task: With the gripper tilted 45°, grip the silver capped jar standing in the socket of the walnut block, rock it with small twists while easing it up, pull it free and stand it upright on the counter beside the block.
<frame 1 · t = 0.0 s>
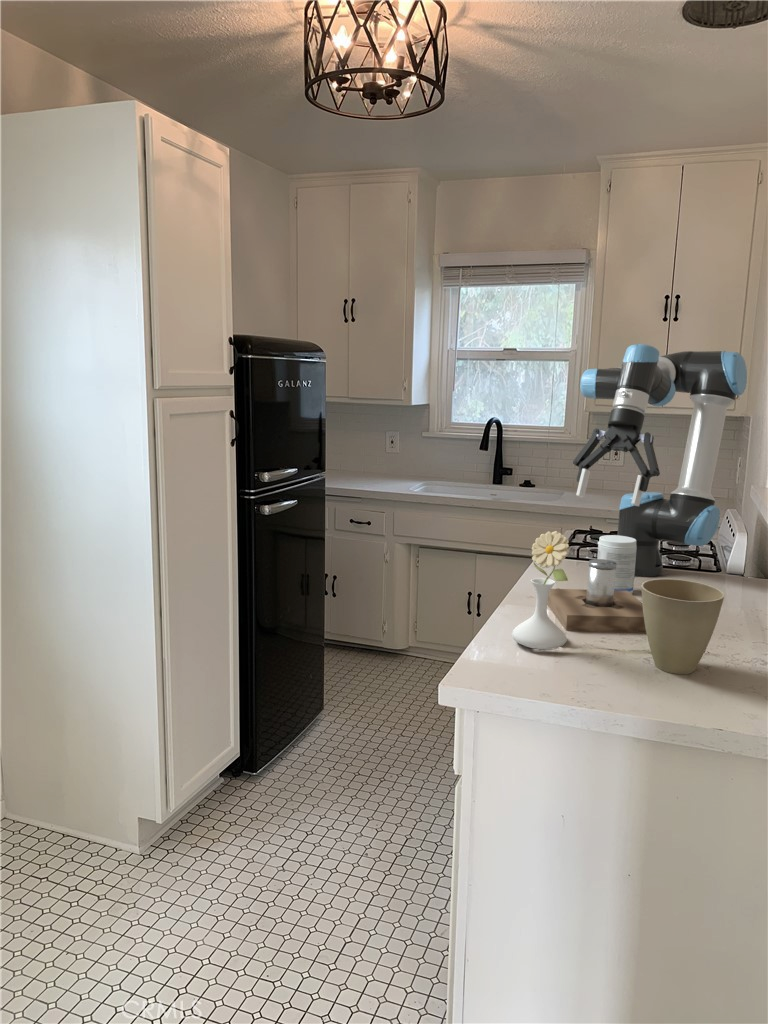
hand: (606, 500, 169), 28 cm above the counter, tool tilted 20°, fingers open, 13 cm apart
supplement tub: (613, 593, 194), on the counter
plant pot: (673, 668, 145), on the counter
walnut socket block: (597, 620, 172), on the counter
silver capped jar: (598, 616, 171), point 1 cm above the counter, touching walnut socket block
flower in vase: (540, 646, 155), on the counter
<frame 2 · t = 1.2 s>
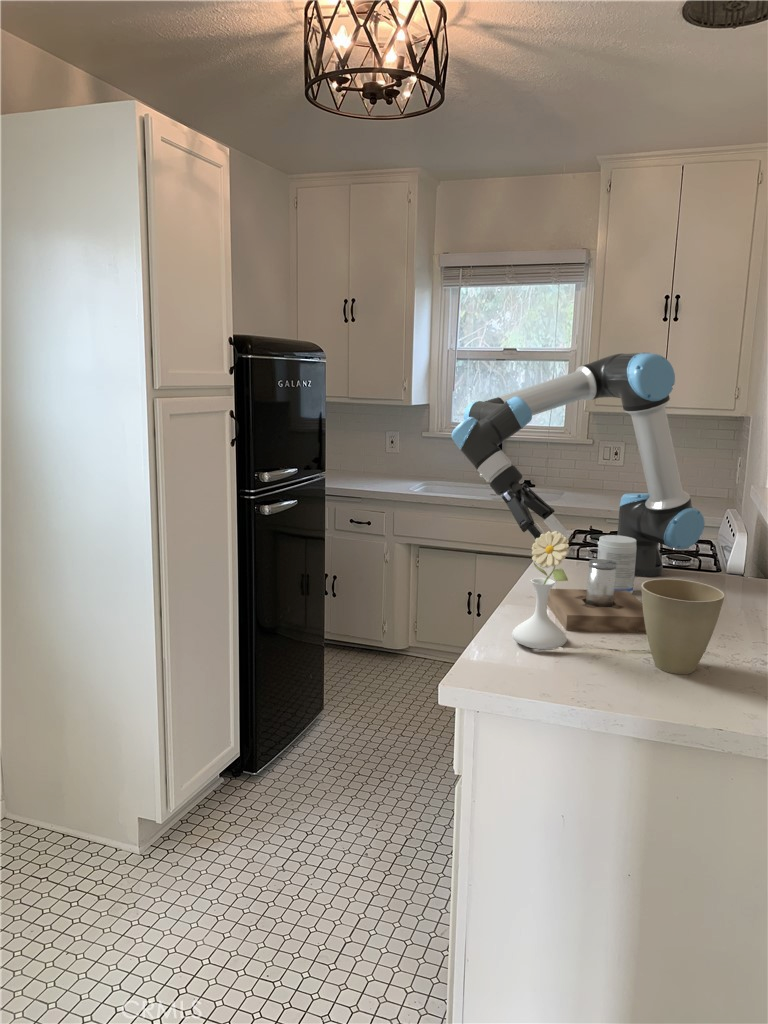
hand: (558, 543, 173), 17 cm above the counter, tool tilted 45°, fingers open, 13 cm apart
nothing on the counter moved.
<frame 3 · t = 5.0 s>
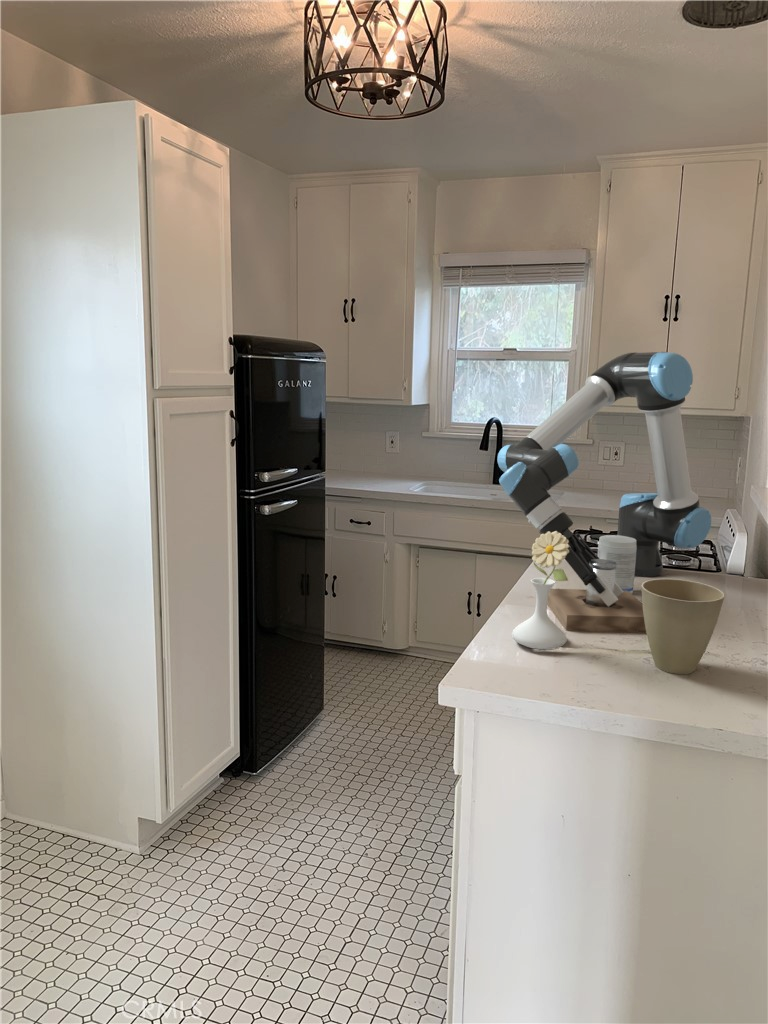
hand: (615, 598, 169), 6 cm above the counter, tool tilted 45°, fingers closed on silver capped jar, 6 cm apart
silver capped jar: (598, 616, 171), point 1 cm above the counter, touching gripper, walnut socket block
everything else where it was.
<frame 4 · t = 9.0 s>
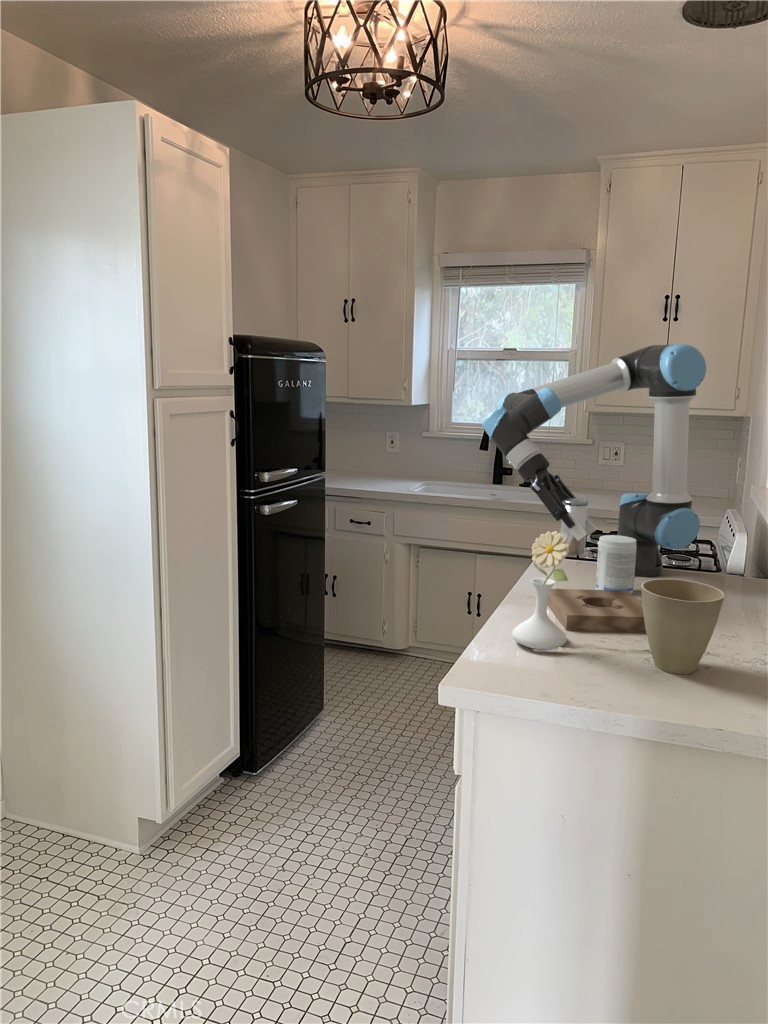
hand: (587, 534, 179), 18 cm above the counter, tool tilted 45°, fingers closed on silver capped jar, 6 cm apart
silver capped jar: (571, 552, 181), point 13 cm above the counter, touching gripper
everything else where it was.
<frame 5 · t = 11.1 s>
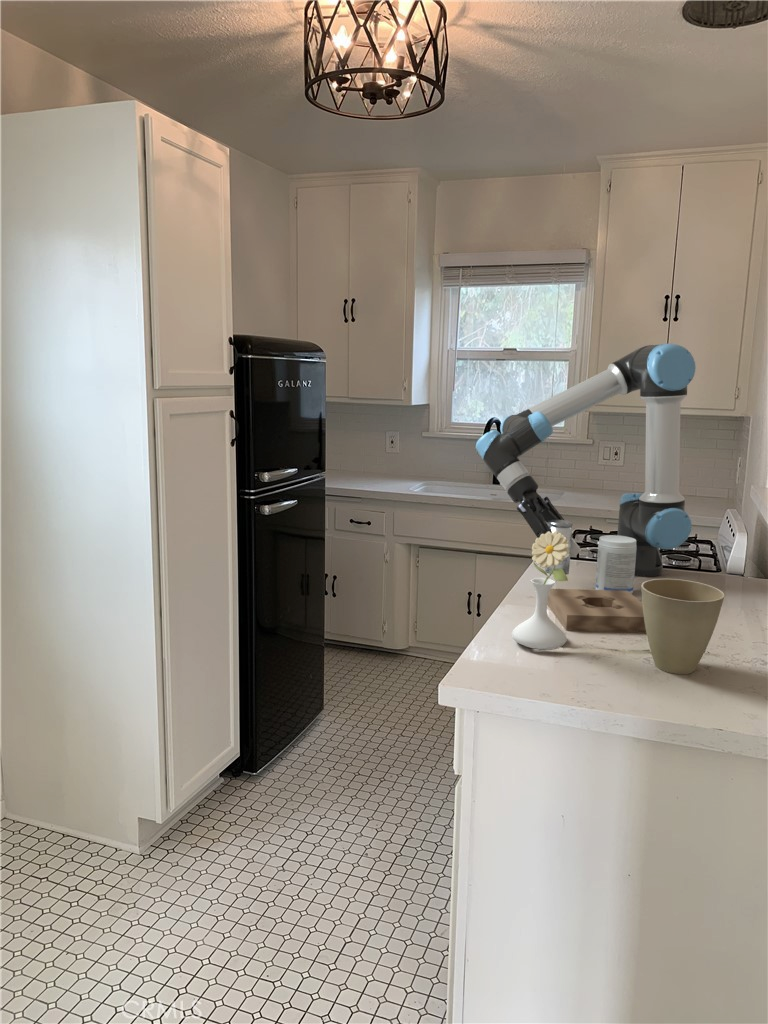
hand: (571, 555, 185), 12 cm above the counter, tool tilted 45°, fingers closed on silver capped jar, 6 cm apart
silver capped jar: (556, 572, 188), point 7 cm above the counter, touching gripper
everything else where it was.
when the fingers open (5 cm above the counter, at t = 12.9 s): silver capped jar stays where it is, on the counter.
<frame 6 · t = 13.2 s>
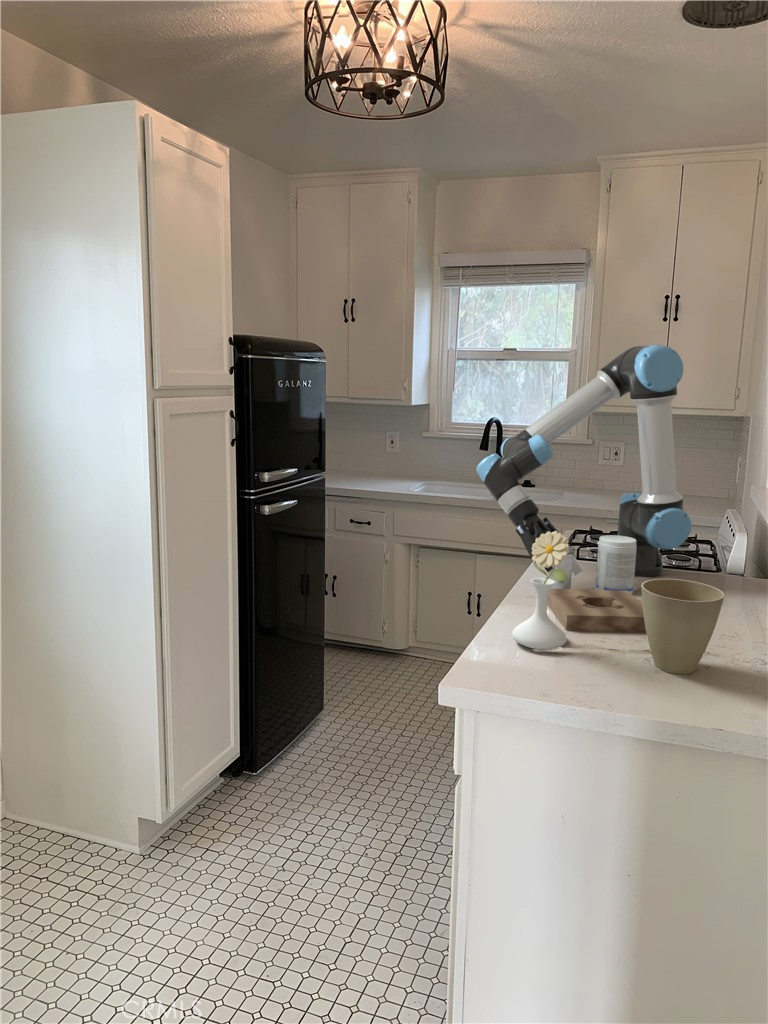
hand: (570, 576, 186), 6 cm above the counter, tool tilted 45°, fingers open, 10 cm apart
silver capped jar: (557, 597, 189), on the counter
everything else where it was.
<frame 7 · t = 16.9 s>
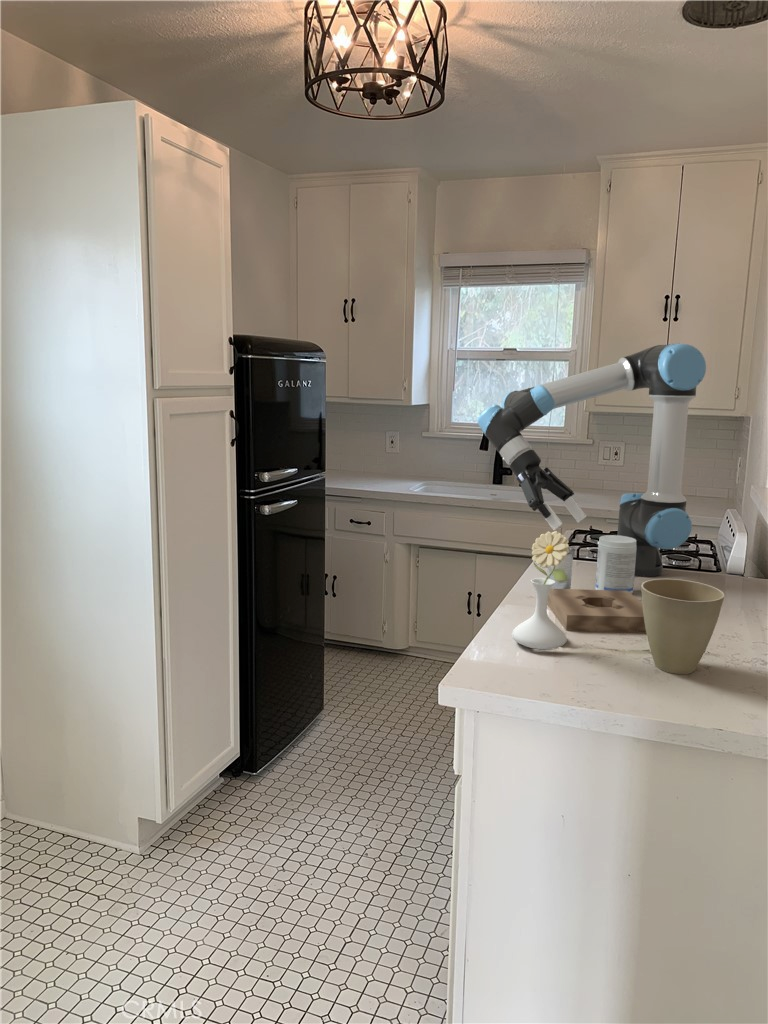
hand: (570, 523, 184), 20 cm above the counter, tool tilted 45°, fingers open, 13 cm apart
nothing on the counter moved.
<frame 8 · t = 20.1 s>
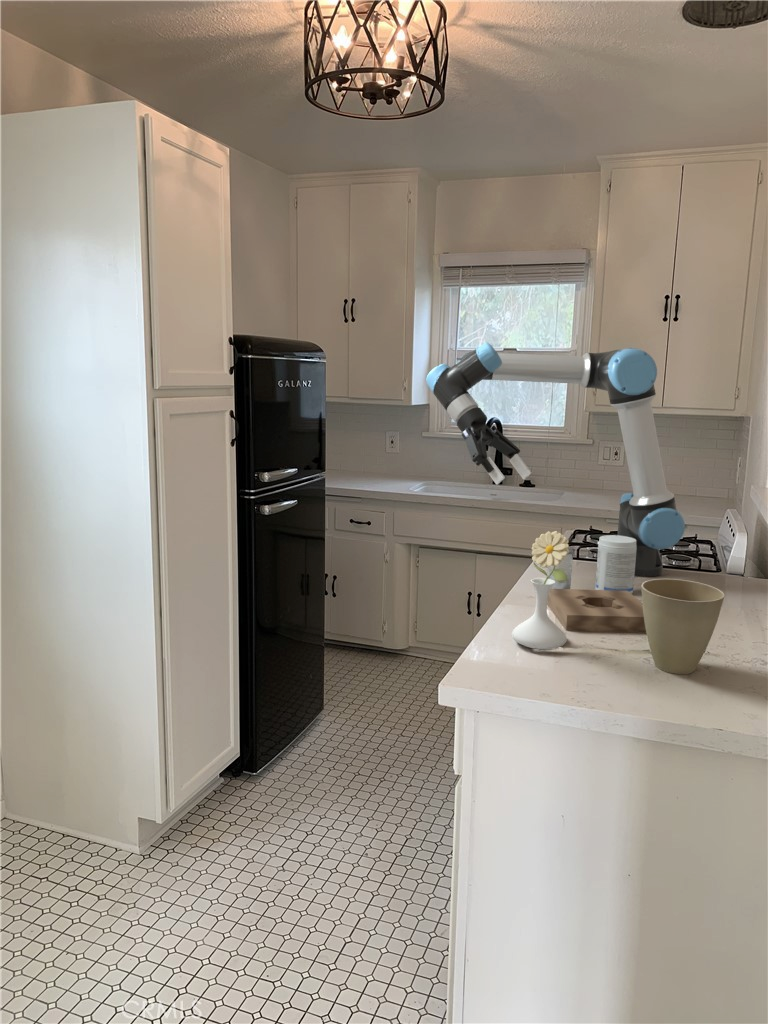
hand: (514, 478, 187), 30 cm above the counter, tool tilted 45°, fingers open, 13 cm apart
nothing on the counter moved.
at the end: silver capped jar inside the target area (0.8 cm from its centre), on the counter; silver capped jar tilted 1°; the gripper is holding nothing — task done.
